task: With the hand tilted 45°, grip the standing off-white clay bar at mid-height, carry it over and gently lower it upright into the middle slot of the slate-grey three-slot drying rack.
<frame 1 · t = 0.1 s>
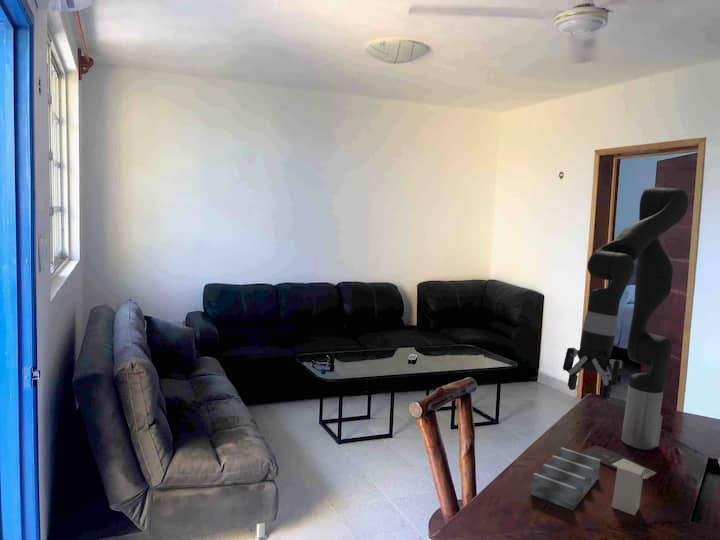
hand: (587, 394, 147), 22 cm above the table, tool pointing down, fingers open, 8 cm apart
clay bar: (625, 507, 138), on the table
chocolate bar: (617, 465, 161), on the table
drying rack: (565, 486, 146), on the table
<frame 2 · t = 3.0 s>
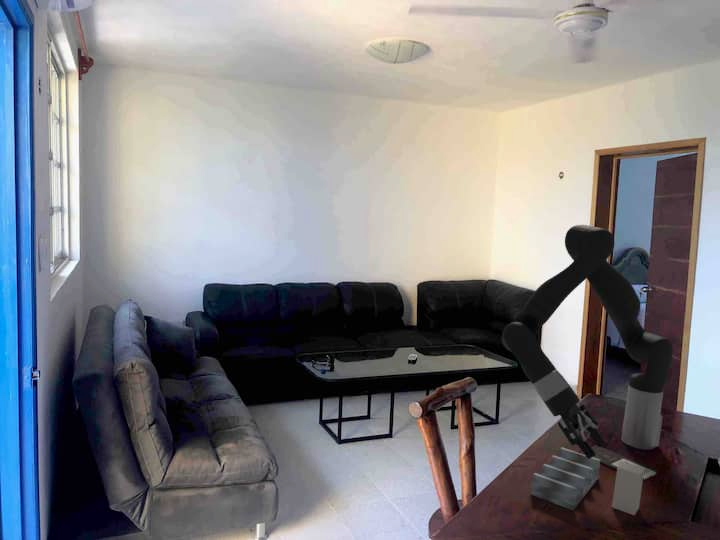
hand: (597, 451, 140), 11 cm above the table, tool tilted 45°, fingers open, 8 cm apart
nothing on the table moved.
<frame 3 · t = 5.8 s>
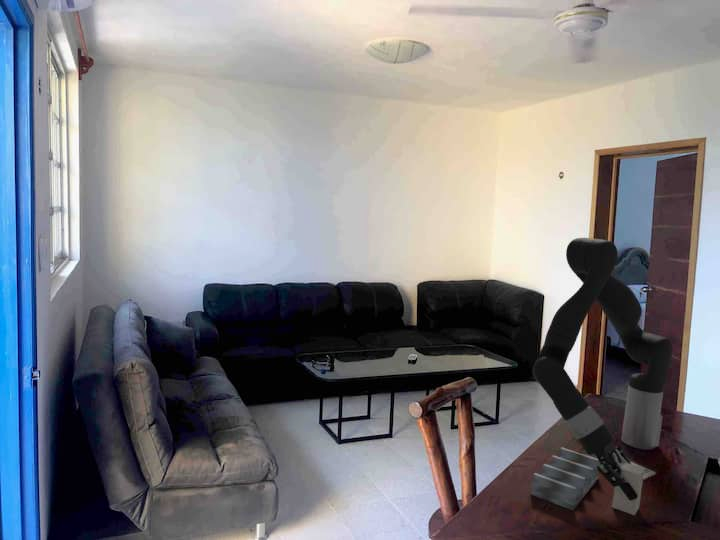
hand: (636, 494, 136), 4 cm above the table, tool tilted 45°, fingers closed on clay bar, 4 cm apart
clay bar: (625, 507, 138), on the table, touching gripper
everything else where it was.
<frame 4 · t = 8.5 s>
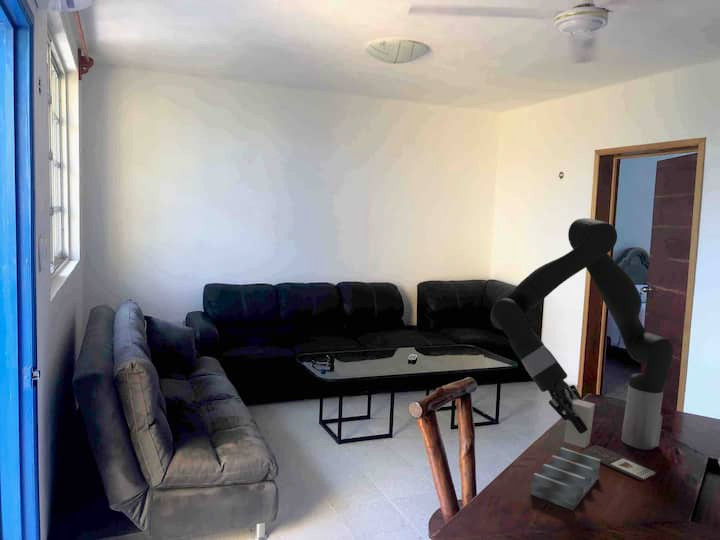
hand: (587, 428, 141), 16 cm above the table, tool tilted 45°, fingers closed on clay bar, 4 cm apart
clay bar: (576, 442, 143), point 12 cm above the table, touching gripper
everything else where it was.
when the fingers open (7 cm above the table, at t = 11.3 s): clay bar drops 1 cm, resting on drying rack.
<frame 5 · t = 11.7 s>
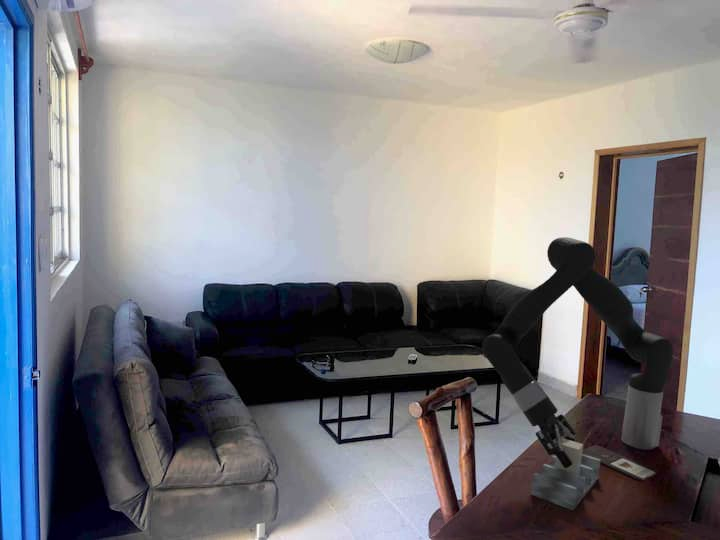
hand: (574, 460, 144), 7 cm above the table, tool tilted 45°, fingers open, 8 cm apart
clay bar: (566, 481, 146), point 1 cm above the table, touching drying rack
everything else where it was.
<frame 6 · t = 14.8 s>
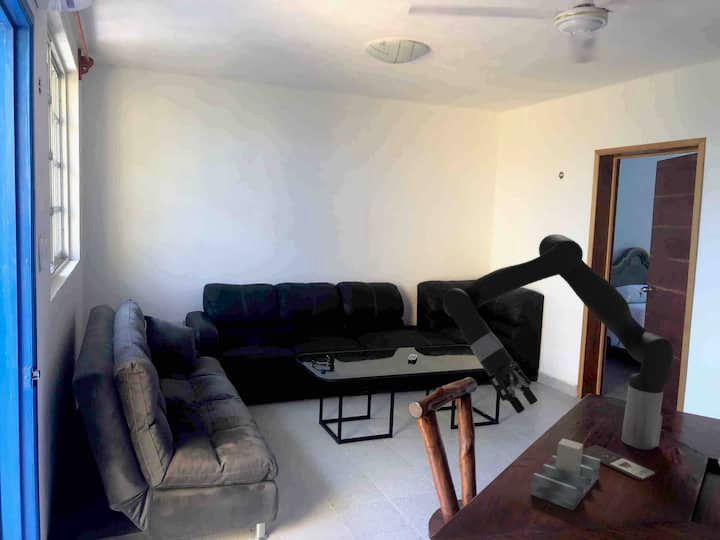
hand: (528, 407, 150), 17 cm above the table, tool tilted 45°, fingers open, 8 cm apart
nothing on the table moved.
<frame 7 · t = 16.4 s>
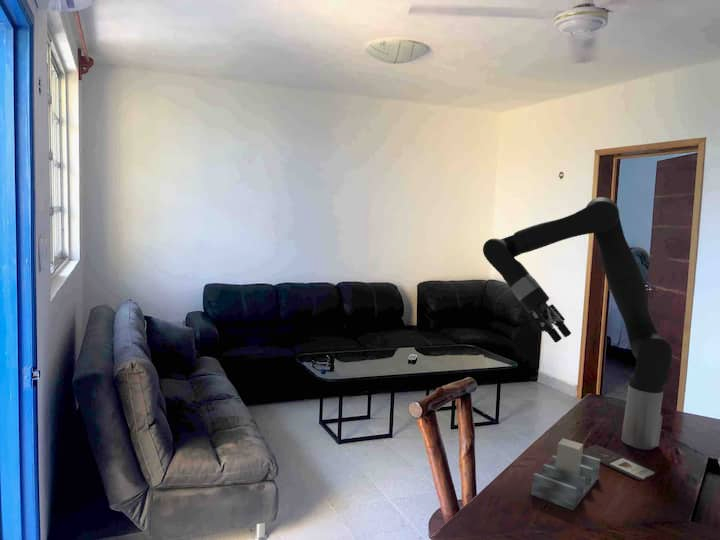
hand: (563, 338, 171), 30 cm above the table, tool tilted 45°, fingers open, 8 cm apart
nothing on the table moved.
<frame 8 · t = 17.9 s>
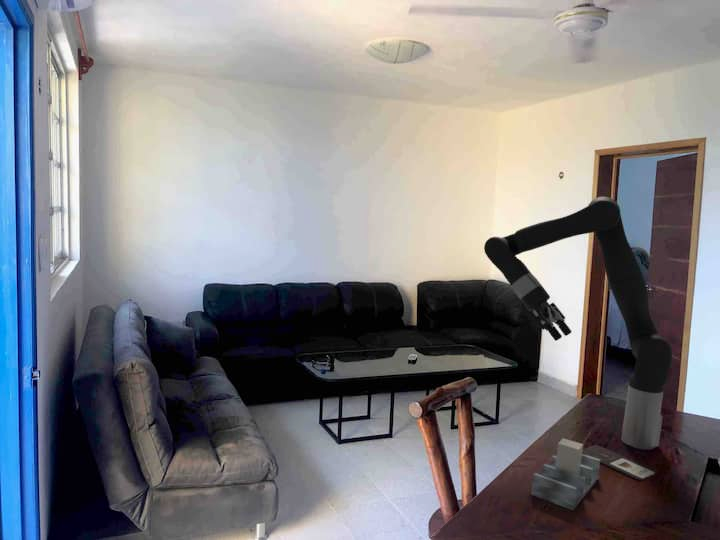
hand: (564, 336, 171), 31 cm above the table, tool tilted 45°, fingers open, 8 cm apart
nothing on the table moved.
at the end: clay bar 0.0 cm off-centre on the drying rack, point 1.2 cm above the drying rack's base; clay bar tilted 0°; the gripper is holding nothing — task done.
